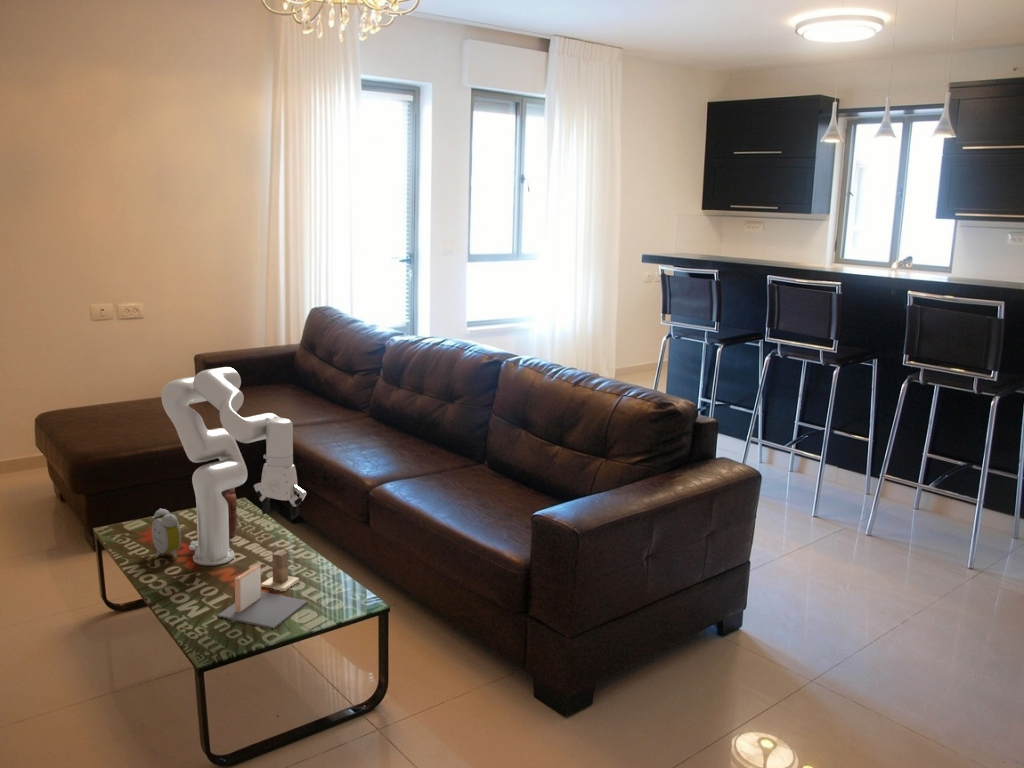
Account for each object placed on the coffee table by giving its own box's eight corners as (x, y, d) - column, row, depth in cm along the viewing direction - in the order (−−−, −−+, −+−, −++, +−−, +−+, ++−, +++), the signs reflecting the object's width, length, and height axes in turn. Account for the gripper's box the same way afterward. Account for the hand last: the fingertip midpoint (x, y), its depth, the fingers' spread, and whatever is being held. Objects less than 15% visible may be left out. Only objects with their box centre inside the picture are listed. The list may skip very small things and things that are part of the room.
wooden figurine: (214, 527, 293) (212, 479, 289) (232, 525, 296) (231, 477, 292) (219, 539, 283) (218, 489, 279) (239, 537, 286) (238, 487, 282)
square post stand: (261, 587, 249) (260, 555, 247) (276, 577, 256) (276, 546, 254) (284, 592, 246) (284, 560, 244) (299, 581, 254) (298, 550, 252)
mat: (217, 616, 230) (217, 614, 229) (254, 591, 245) (254, 589, 245) (273, 629, 224) (273, 627, 224) (307, 602, 240) (307, 600, 240)
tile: (235, 611, 232) (234, 578, 230) (256, 596, 241) (256, 564, 239) (240, 612, 231) (239, 579, 229) (261, 597, 241) (261, 565, 239)
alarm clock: (182, 559, 266) (181, 515, 263) (161, 564, 261) (159, 519, 258) (168, 548, 274) (166, 505, 271) (147, 553, 269) (145, 509, 266)
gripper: (246, 459, 243) (247, 514, 246) (298, 467, 238) (298, 523, 241) (261, 453, 250) (262, 507, 253) (312, 460, 245) (312, 515, 248)
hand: (280, 515), depth 247 cm, fingers open, 9 cm apart
